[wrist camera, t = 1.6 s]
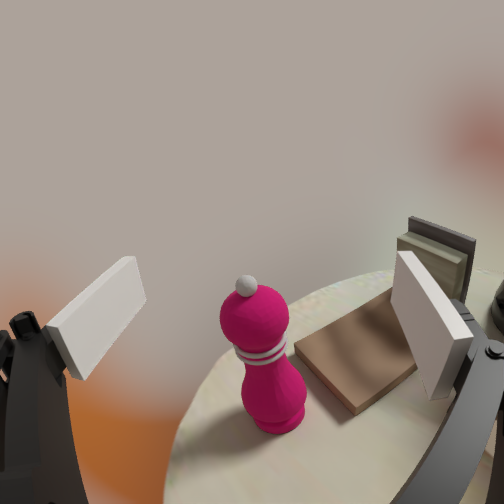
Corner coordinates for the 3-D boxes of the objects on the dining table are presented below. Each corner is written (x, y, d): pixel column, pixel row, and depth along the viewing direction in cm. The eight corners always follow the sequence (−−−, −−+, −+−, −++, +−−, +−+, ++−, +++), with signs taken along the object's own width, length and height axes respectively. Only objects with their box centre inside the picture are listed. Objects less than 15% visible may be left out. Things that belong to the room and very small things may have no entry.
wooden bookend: (405, 286, 49) (409, 213, 43) (466, 321, 37) (483, 240, 31) (295, 352, 42) (281, 270, 36) (355, 416, 30) (361, 332, 24)
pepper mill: (317, 397, 34) (302, 257, 25) (294, 445, 28) (264, 311, 20) (266, 385, 37) (230, 252, 29) (239, 427, 32) (182, 296, 23)
